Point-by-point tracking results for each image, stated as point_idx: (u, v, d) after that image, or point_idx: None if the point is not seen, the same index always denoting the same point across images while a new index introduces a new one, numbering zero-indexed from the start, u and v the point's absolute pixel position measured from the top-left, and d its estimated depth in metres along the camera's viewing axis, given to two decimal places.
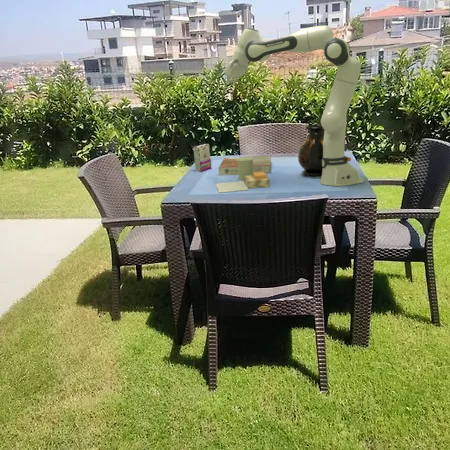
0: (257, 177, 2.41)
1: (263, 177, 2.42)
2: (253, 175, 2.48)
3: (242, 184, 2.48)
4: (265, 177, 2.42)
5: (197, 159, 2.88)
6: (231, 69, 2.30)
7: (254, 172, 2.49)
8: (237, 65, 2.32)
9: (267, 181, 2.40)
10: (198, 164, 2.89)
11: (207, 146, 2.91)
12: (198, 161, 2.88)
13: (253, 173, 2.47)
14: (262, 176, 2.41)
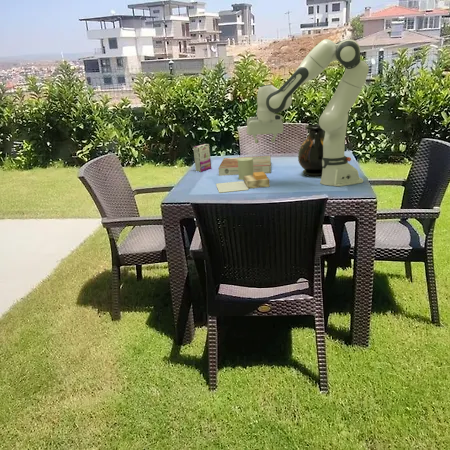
0: (257, 177, 2.41)
1: (263, 177, 2.42)
2: (253, 175, 2.48)
3: (242, 184, 2.48)
4: (265, 177, 2.42)
5: (197, 159, 2.88)
6: (248, 127, 2.35)
7: (254, 172, 2.49)
8: (255, 122, 2.35)
9: (267, 181, 2.40)
10: (198, 164, 2.89)
11: (207, 146, 2.91)
12: (198, 161, 2.88)
13: (253, 173, 2.47)
14: (262, 176, 2.41)
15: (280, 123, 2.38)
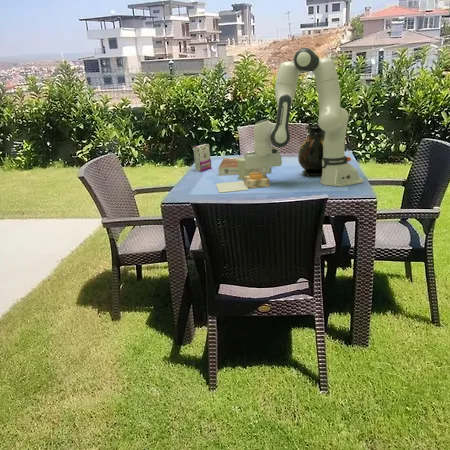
0: (253, 177, 2.41)
1: (259, 177, 2.41)
2: (249, 175, 2.48)
3: (242, 184, 2.48)
4: (261, 177, 2.42)
5: (197, 159, 2.88)
6: (245, 161, 2.42)
7: None
8: (253, 156, 2.40)
9: (267, 181, 2.40)
10: (198, 164, 2.89)
11: (207, 146, 2.91)
12: (198, 161, 2.88)
13: (249, 173, 2.47)
14: (258, 176, 2.41)
15: (278, 156, 2.41)
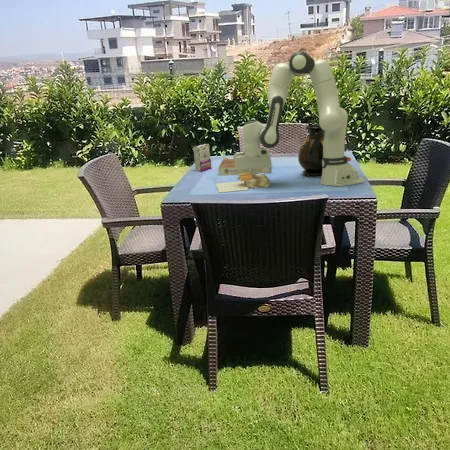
0: (242, 179, 2.41)
1: (249, 178, 2.41)
2: (239, 177, 2.48)
3: (242, 184, 2.48)
4: (251, 178, 2.41)
5: (197, 159, 2.88)
6: (235, 162, 2.41)
7: (240, 174, 2.49)
8: (242, 157, 2.40)
9: (267, 181, 2.40)
10: (198, 164, 2.89)
11: (207, 146, 2.91)
12: (198, 161, 2.88)
13: (239, 175, 2.47)
14: (247, 177, 2.41)
15: (267, 157, 2.41)
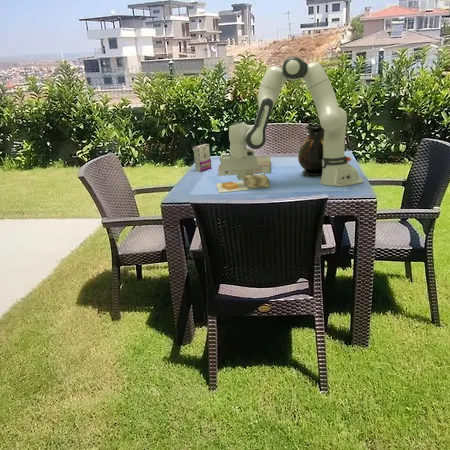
0: (230, 187, 2.39)
1: (235, 187, 2.40)
2: (222, 186, 2.45)
3: (242, 184, 2.48)
4: (237, 187, 2.41)
5: (197, 159, 2.88)
6: (221, 163, 2.40)
7: (222, 183, 2.46)
8: (228, 158, 2.39)
9: (267, 181, 2.40)
10: (198, 164, 2.89)
11: (207, 146, 2.91)
12: (198, 161, 2.88)
13: (223, 184, 2.44)
14: (234, 186, 2.40)
15: (253, 159, 2.40)
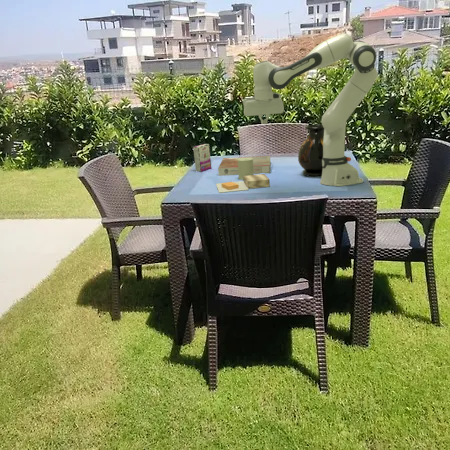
0: (230, 187, 2.39)
1: (235, 187, 2.40)
2: (222, 186, 2.45)
3: (242, 184, 2.48)
4: (237, 187, 2.41)
5: (197, 159, 2.88)
6: (244, 107, 2.22)
7: (222, 183, 2.46)
8: (252, 102, 2.21)
9: (267, 181, 2.40)
10: (198, 164, 2.89)
11: (207, 146, 2.91)
12: (198, 161, 2.88)
13: (223, 184, 2.44)
14: (234, 186, 2.40)
15: (279, 102, 2.22)
